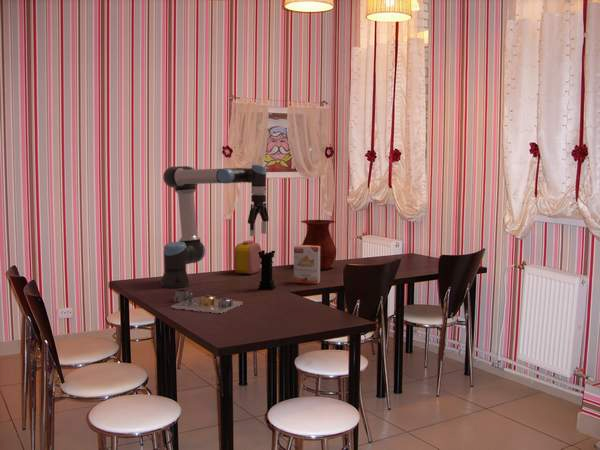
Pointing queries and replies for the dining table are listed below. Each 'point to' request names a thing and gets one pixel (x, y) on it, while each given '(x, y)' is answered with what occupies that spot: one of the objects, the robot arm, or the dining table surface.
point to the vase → (321, 240)
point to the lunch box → (247, 257)
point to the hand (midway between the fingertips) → (258, 234)
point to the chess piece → (266, 271)
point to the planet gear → (181, 295)
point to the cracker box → (306, 264)
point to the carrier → (207, 304)
